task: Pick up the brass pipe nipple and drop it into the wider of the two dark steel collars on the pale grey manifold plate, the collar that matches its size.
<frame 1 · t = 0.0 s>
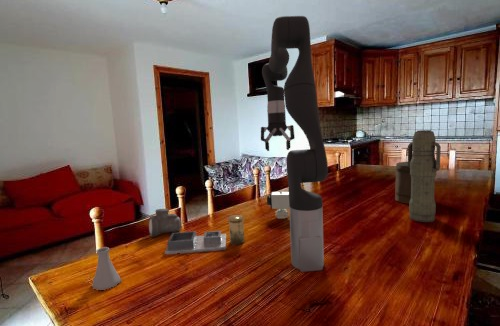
hand: (278, 150, 125), 29 cm above the table, fingers open, 8 cm apart
pneumatic valve: (281, 217, 127), on the table
pipe fitting: (166, 234, 115), on the table
manifold plate: (197, 244, 102), on the table
thermos: (421, 219, 116), on the table
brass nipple: (237, 241, 103), on the table
flask: (107, 285, 79), on the table
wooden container: (412, 200, 142), on the table
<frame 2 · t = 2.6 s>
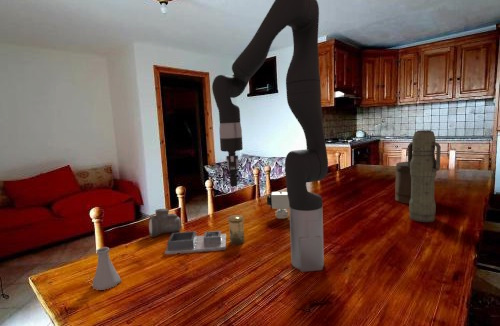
hand: (233, 183, 100), 21 cm above the table, fingers open, 8 cm apart
nothing on the table moved.
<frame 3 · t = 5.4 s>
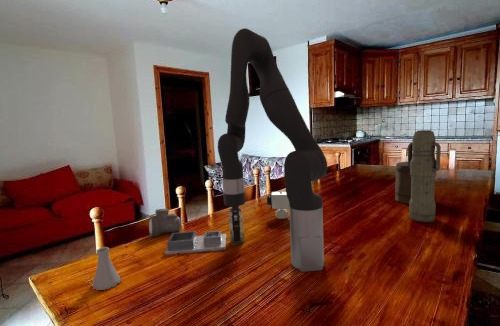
hand: (237, 237, 103), 2 cm above the table, fingers closed on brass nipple, 5 cm apart
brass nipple: (237, 241, 103), on the table, touching gripper
everything else where it was.
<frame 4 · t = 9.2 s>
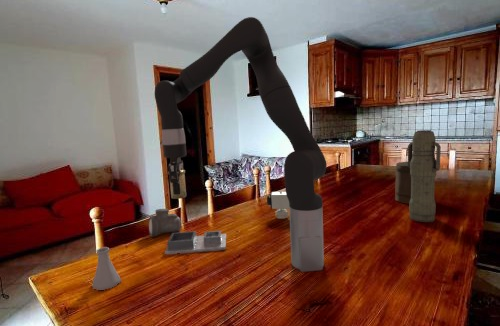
hand: (178, 192, 99), 19 cm above the table, fingers closed on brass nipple, 5 cm apart
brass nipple: (178, 196, 100), point 18 cm above the table, touching gripper
everything else where it was.
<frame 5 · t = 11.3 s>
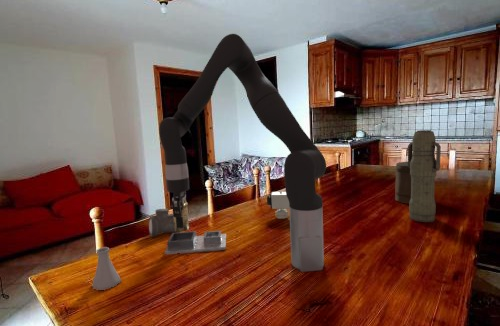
hand: (181, 224, 101), 8 cm above the table, fingers closed on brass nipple, 5 cm apart
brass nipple: (181, 229, 101), point 6 cm above the table, touching gripper
everything else where it was.
when the fingers open (5 cm above the table, at t = 13.2 s): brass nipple drops 2 cm, resting on manifold plate.
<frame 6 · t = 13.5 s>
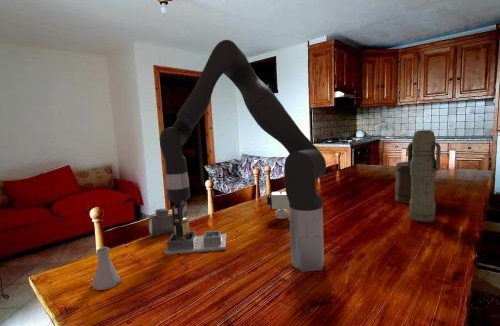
hand: (181, 231, 101), 5 cm above the table, fingers open, 7 cm apart
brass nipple: (183, 243, 102), point 1 cm above the table, touching manifold plate
everything else where it was.
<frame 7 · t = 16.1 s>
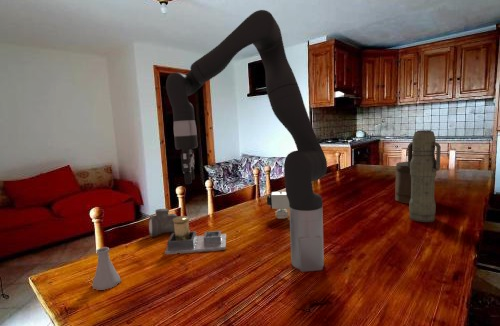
hand: (189, 181, 100), 23 cm above the table, fingers open, 8 cm apart
nothing on the table moved.
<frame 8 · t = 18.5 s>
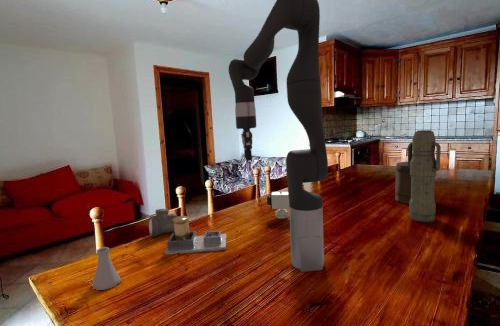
hand: (248, 159, 110), 28 cm above the table, fingers open, 8 cm apart
nothing on the table moved.
at the end: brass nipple 0.1 cm from the target spot on the manifold plate, point 1.0 cm above the manifold plate's base; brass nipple tilted 0°; the gripper is holding nothing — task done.
